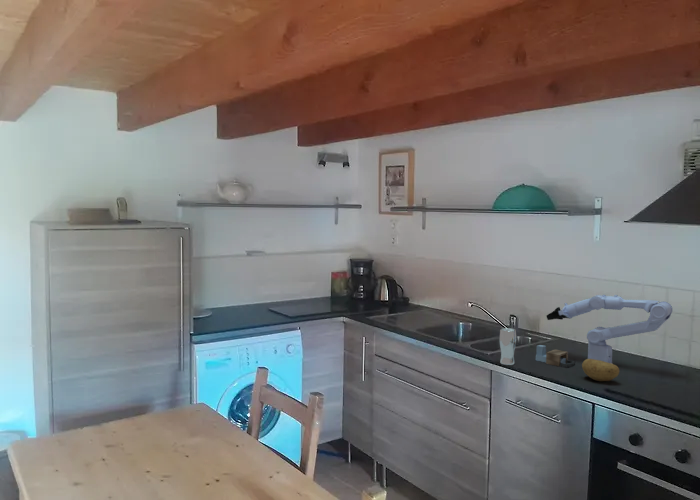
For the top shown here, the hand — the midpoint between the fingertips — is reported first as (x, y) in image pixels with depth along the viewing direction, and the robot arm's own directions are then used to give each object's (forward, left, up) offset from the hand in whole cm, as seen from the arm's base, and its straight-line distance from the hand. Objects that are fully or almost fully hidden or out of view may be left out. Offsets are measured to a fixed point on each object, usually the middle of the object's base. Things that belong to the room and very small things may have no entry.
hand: (550, 317), depth 268 cm
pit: (-14, +11, -18) cm, 25 cm away
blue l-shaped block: (-6, +11, -18) cm, 22 cm away
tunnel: (-9, +11, -18) cm, 23 cm away
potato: (-33, +23, -18) cm, 44 cm away
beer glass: (+6, +27, -18) cm, 33 cm away
